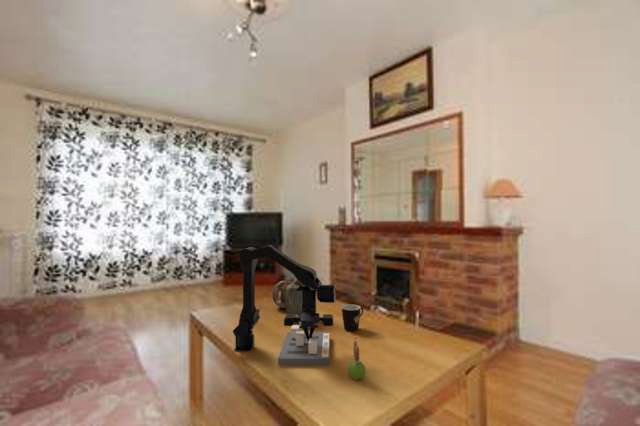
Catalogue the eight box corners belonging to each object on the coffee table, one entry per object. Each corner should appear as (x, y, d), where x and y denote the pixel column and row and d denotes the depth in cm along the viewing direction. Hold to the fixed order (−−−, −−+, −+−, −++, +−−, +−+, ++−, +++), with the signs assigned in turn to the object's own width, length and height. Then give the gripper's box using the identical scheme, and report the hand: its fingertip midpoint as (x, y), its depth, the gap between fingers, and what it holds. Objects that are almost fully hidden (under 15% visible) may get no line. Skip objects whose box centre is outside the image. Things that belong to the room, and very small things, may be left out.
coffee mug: (345, 333, 143) (345, 311, 143) (339, 327, 151) (338, 305, 151) (370, 330, 146) (369, 308, 146) (362, 324, 154) (362, 303, 154)
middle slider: (295, 345, 124) (295, 335, 124) (296, 341, 128) (296, 331, 128) (303, 345, 124) (303, 335, 124) (304, 341, 128) (304, 331, 128)
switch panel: (278, 365, 114) (277, 357, 114) (287, 338, 138) (287, 332, 138) (329, 365, 114) (329, 358, 114) (329, 338, 138) (329, 332, 138)
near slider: (308, 353, 117) (308, 342, 117) (309, 349, 121) (309, 338, 121) (316, 353, 117) (316, 342, 117) (317, 349, 121) (317, 338, 121)
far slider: (291, 338, 131) (291, 328, 131) (292, 334, 135) (292, 325, 135) (298, 338, 131) (298, 328, 131) (299, 334, 135) (299, 325, 135)
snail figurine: (363, 372, 109) (363, 336, 109) (367, 382, 102) (366, 344, 102) (347, 372, 109) (346, 336, 108) (349, 383, 102) (349, 345, 102)
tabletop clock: (303, 324, 155) (302, 271, 155) (285, 323, 157) (284, 271, 157) (310, 314, 170) (309, 266, 169) (293, 313, 171) (292, 266, 171)
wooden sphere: (289, 302, 193) (289, 276, 193) (304, 307, 182) (304, 280, 182) (267, 307, 184) (266, 280, 184) (282, 313, 172) (281, 285, 172)
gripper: (281, 308, 118) (282, 351, 118) (333, 308, 117) (333, 351, 118) (285, 299, 129) (286, 338, 130) (332, 299, 129) (333, 339, 129)
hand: (309, 342), depth 126 cm, fingers closed
